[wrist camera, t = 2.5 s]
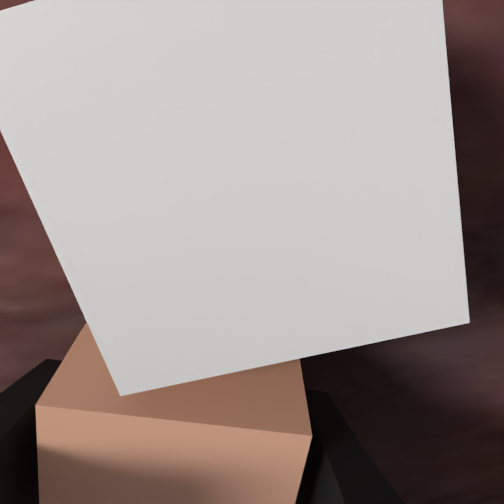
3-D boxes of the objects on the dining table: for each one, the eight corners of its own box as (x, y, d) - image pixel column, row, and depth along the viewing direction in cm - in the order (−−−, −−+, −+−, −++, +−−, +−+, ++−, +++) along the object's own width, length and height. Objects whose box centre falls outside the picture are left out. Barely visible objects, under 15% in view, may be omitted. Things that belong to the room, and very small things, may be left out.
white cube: (377, 210, 11) (470, 322, 6) (173, 258, 11) (120, 396, 7) (340, -29, 9) (432, -119, 4) (97, 40, 10) (-48, 25, 5)
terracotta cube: (263, 437, 14) (268, 605, 9) (107, 420, 13) (42, 585, 9) (290, 303, 12) (312, 436, 8) (112, 280, 12) (35, 405, 7)
